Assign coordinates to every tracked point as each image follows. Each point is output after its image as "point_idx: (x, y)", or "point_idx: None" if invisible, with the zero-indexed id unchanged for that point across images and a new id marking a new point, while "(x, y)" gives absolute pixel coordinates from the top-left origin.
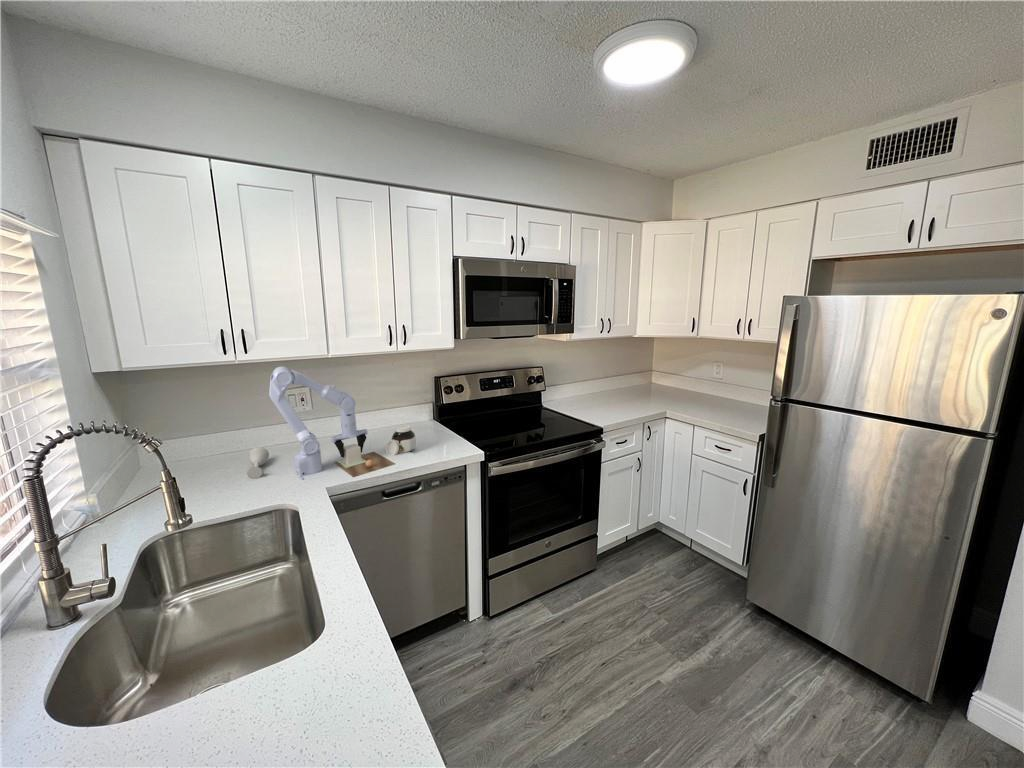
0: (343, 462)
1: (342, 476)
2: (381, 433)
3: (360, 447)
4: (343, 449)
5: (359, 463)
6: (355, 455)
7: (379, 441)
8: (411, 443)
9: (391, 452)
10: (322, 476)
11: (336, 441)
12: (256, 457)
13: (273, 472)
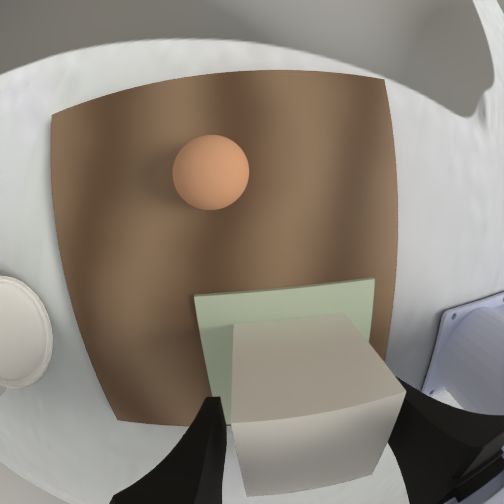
0: None
1: (413, 190)
2: (92, 499)
3: (214, 436)
4: (421, 413)
5: (264, 293)
6: (294, 357)
7: (95, 475)
8: None
9: (28, 326)
10: (468, 273)
11: (502, 465)
12: None
13: None
